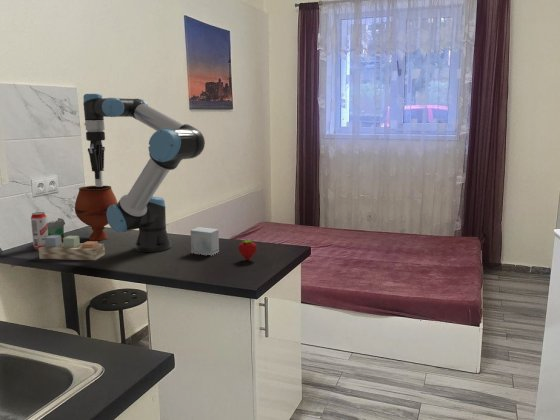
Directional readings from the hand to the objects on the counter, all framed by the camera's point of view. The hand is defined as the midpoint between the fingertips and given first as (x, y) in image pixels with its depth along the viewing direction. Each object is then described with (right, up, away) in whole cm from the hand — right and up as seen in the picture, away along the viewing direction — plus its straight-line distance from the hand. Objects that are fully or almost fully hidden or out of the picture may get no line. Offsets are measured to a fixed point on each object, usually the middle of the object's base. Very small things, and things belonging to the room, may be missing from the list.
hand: (99, 186), depth 217 cm
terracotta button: (-1, -28, -8) cm, 29 cm away
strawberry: (+65, -31, -13) cm, 73 cm away
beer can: (-28, -28, +5) cm, 39 cm away
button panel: (-9, -30, -7) cm, 32 cm away
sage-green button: (-9, -26, -8) cm, 28 cm away
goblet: (-9, -24, +23) cm, 35 cm away
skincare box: (+46, -29, -2) cm, 55 cm away
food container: (-25, -25, +17) cm, 40 cm away
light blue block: (-17, -25, -7) cm, 31 cm away
